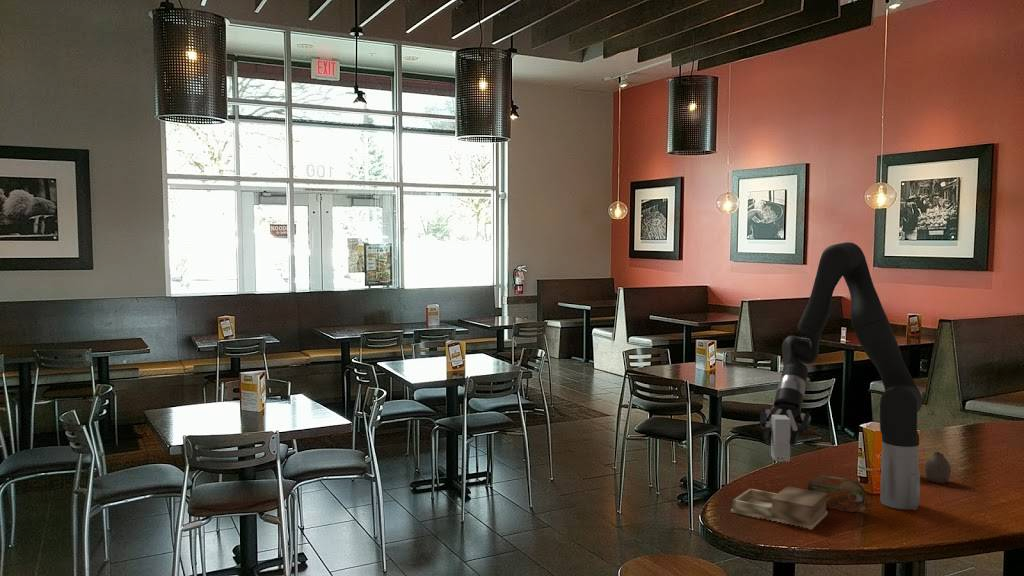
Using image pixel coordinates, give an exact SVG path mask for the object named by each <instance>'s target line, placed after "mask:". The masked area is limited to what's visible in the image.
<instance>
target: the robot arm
mask: <svg viewBox="0 0 1024 576" xmlns="http://www.w3.org/2000/svg"><path fill="white" fill-rule="evenodd" d="M817 266H818V267H817V270H816V274H815V279H814V282H813V286H812V289H811V292H810V296H809V299H808V302H807V303H806V306H805V309H804V311H803V313H802V315H801V317H800V319H799V322H798V324H797V330H798V331H799V333H800V334H802V335H803V336H804V337H806V338H808V339H809V340H808V339H805V338H802V337H799V336H796V335H788V336H787V337H786V338H785V339H784V340H783V341H782V344H781V355H782V365H783V366H782V373H781V376H780V379H779V382H778V385H777V388H776V389H777V390H776V394H775V397H774V401H773V402H774V403H773V405H772V407H771V408H770V409H766V408H765V407H761V408H760V415H759V416H760V417H759V426H760V429H761V430H764V432H763V440H764V441H765V443H767V444H769V443H770V441H771V426H772V422H771V421H772V420H771V417H770V419H769V421H768V422H767V418H768V417H769V416H770V415H771V416H772V415H786V416H787V417H788V418H789V419H790V420H791V429H792V431H791V432H790V447H794V446H795V445H796V444H797V442H798V438H799V435H806V434H807V432H808V429H809V426H810V424H811V421H812V417H811V414H810V412H805V413H803V412H801V411H802V406H803V402H804V398H805V394H806V393H805V392H806V383H807V379H808V375H809V369H808V366H806V365H813V364H814V363H815V362H816V361H817V360H818V358H819V352H820V351H819V349H820V342H821V337H822V334H823V333H824V332H823V331H824V329H825V327H826V325H827V323H828V320H829V318H830V315H831V313H832V312H831V311H832V300H833V293H834V291H835V288H836V286H837V285H838V283H839V282H840V281H841V279H842V278H843V279H844V281H845V284H846V286H847V287H848V291H849V294H850V295H849V296H850V321H851V326H852V329H853V331H854V334H855V336H856V338H857V341H858V342H859V345H860V347H861V348H862V350H863V351H864V353H865V354H866V356H867V357H868V358H869V360H870V361H871V362H872V364H873V365H874V366H875V368H876V370H877V371H878V374H879V376H880V378H881V382H882V385H883V388H884V391H883V393H882V394H881V397H880V401H879V430H880V431H881V434H882V453H881V473H880V493H879V494H880V499H879V500H880V502H879V503H881V504H882V505H884V506H886V507H888V508H892V509H897V510H913V511H916V510H917V509H918V507H919V506H920V503H921V502H920V501H921V500H920V499H921V497H920V495H921V470H920V469H919V467H920V466H919V465H920V434H919V433H918V432H919V431H918V412H920V410H921V408H922V405H923V396H922V393H921V391H920V389H919V387H918V386H917V384H916V383H915V381H914V379H913V377H912V375H911V373H910V372H909V369H908V367H907V365H906V363H905V360H904V359H903V355H902V352H901V349H900V346H899V344H898V341H897V338H896V336H895V333H894V331H893V328H892V326H891V323H890V321H889V318H888V317H887V314H886V312H885V310H884V307H883V305H882V303H881V300H880V298H879V295H878V293H877V292H878V291H876V288H875V286H874V282H873V280H872V276H871V273H870V269H869V266H868V262H867V259H866V256H865V253H864V251H863V250H862V248H861V247H860V246H859V245H858V244H856V243H854V242H849V241H848V242H842V243H841V242H840V243H836V244H832V245H831V244H830V245H829V246H827V247H826V248H824V250H823V252H822V253H821V256H820V258H819V262H818V265H817ZM800 419H801V420H802V422H801V424H800V426H799V427H798V426H797V424H796V422H798V420H800Z"/></svg>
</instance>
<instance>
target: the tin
mask: <svg viewBox="0 0 1024 576" xmlns="http://www.w3.org/2000/svg"><path fill="white" fill-rule="evenodd" d="M807 490H812V491H817V492H823V493H827V496H826V509H832V510H837V511H843V512H847V513H854V512H855V513H856V512H857V511H858V512H859V510H861V509H862V508H863V507H864V506H865V504H866V502H867V492H866V490H865V488H864V486H863V485H861V483H859V482H858V481H856V480H853V479H848V478H842V477H835V476H831V475H824V474H822V475H817V476H814V477H812V478H811V479H810V480H809V482H808V484H807Z"/></svg>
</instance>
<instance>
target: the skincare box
mask: <svg viewBox="0 0 1024 576" xmlns="http://www.w3.org/2000/svg"><path fill="white" fill-rule="evenodd" d="M770 418H771V420H772V421H771V422H772V426H771V436H770V456H771V458H772V459H773V460H774V461H775V462H788V463H789V462H791V446H790V438H791V428H792V426H791V420H790V419H789V418H788V417H787V416H786V415H772V414H771V416H770Z"/></svg>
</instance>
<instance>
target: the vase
mask: <svg viewBox="0 0 1024 576" xmlns="http://www.w3.org/2000/svg"><path fill="white" fill-rule="evenodd" d="M924 472H925V476H926V477H927V479H928V480H929V482H931V481H932V482H931V483H934V482H936V483H935V484H941V483H942V484H945V482H946V483H947V482H948V481H949V480H950V478H951V474H952V468H951V464H950V462H949V460H948V459H946V457H945V456H944V454H943V452H938V451H934V452H933V454H932V455H931V456H930V457H929V458H928V459H927V461H926V462H925V466H924Z"/></svg>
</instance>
